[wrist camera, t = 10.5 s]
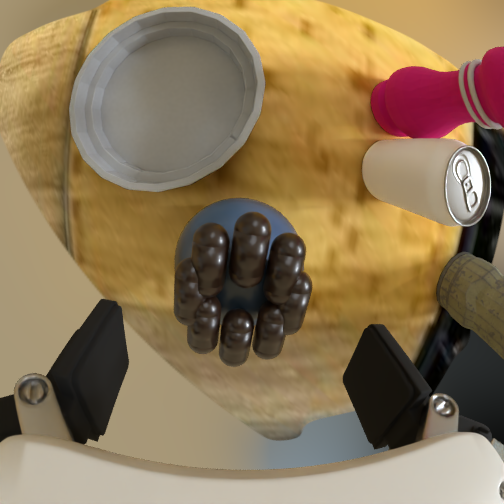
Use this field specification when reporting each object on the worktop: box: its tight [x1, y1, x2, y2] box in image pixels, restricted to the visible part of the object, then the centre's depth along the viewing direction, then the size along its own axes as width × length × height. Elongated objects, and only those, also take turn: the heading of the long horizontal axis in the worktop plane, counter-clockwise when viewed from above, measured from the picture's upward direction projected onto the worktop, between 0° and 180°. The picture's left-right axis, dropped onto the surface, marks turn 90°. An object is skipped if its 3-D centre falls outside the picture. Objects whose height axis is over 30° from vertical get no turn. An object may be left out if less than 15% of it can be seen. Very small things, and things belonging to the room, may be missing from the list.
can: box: [362, 138, 491, 227], centre depth 19 cm, size 6×6×12 cm
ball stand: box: [174, 198, 304, 326], centre depth 20 cm, size 9×9×12 cm
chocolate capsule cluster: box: [174, 212, 312, 367], centre depth 14 cm, size 9×7×2 cm
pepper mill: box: [371, 47, 504, 139], centre depth 13 cm, size 7×7×20 cm
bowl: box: [69, 7, 265, 192], centre depth 19 cm, size 16×16×4 cm
